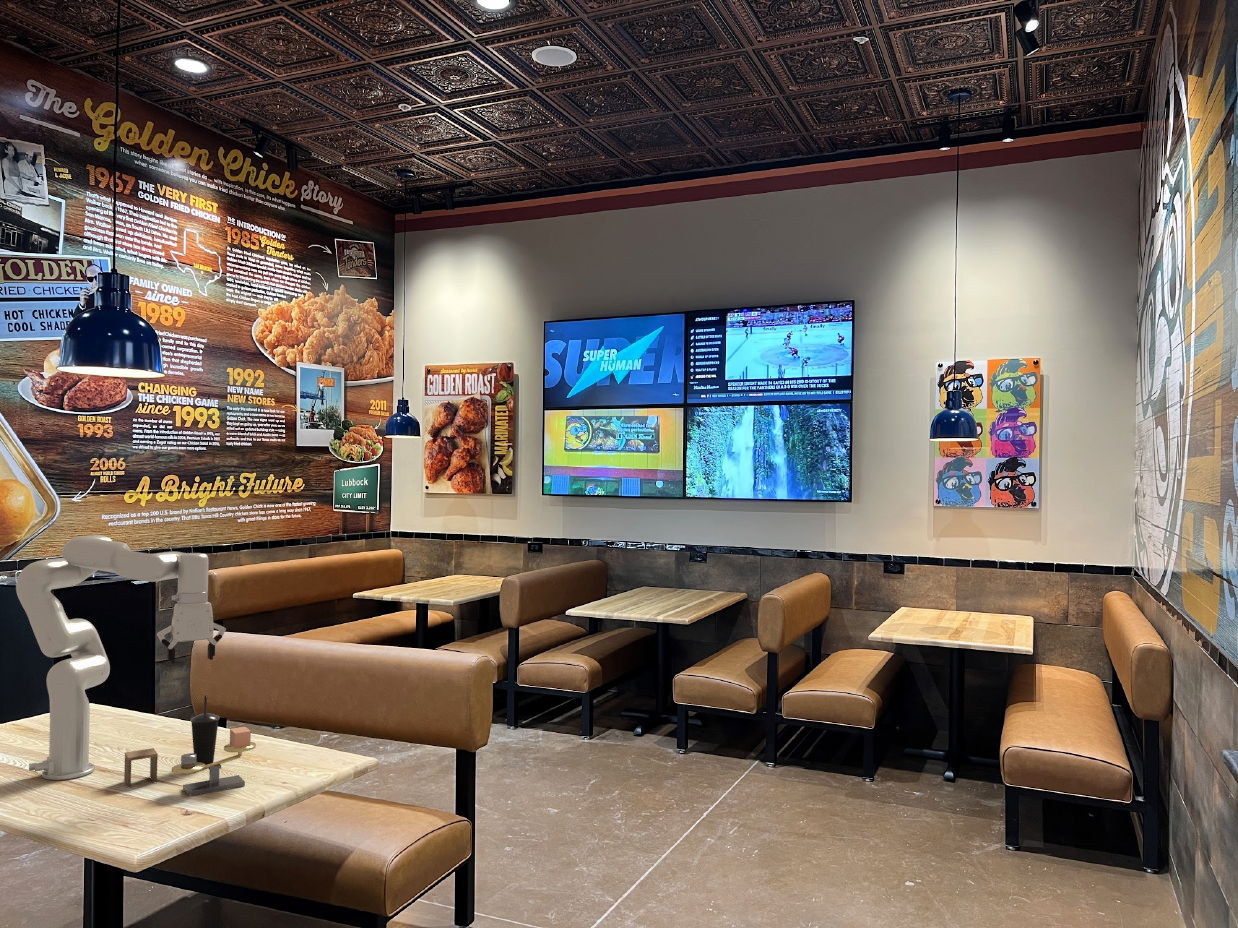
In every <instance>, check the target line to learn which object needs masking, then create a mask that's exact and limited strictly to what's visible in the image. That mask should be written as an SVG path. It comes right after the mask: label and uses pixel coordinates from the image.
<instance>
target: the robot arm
mask: <svg viewBox="0 0 1238 928" xmlns="http://www.w3.org/2000/svg"><path fill="white" fill-rule="evenodd" d="M209 563H210V561H209V557H208V555H207V554H206V553H204V552H203V553H201V552H190V553H189V552H187V553H186V552H181V551H164V552H157V553H147V552H139V551H134V550H131V548H130V546H129V544H127V543H125V542H121V541H115V540H113V539H111V538H110V537H109V536H106V535H103V534H93V535H81V536H79V535H78V536H75V537H73V538H71V539H69V540H67V542H66V543H65V544H64V546H63V548H62V557H58V558H48V559H41V560H37V561H35V562H31V563H29V564H28V565H27V566H25V567H24V568H23V569H22V570H21V571H20V573H19V574H18V576H17V579H16V585H15V591H16V595H17V598H18V600H19V602H20V604H21V606H22V608H23V609H24V611H25V614H26V616H27V618H28V621H29V623H30V626H31V628H32V631H33V634H34V636H35V639H36V641H37V644H38V646H39V648H40V651H41V652H42V653H43V655H45V656H46V657H47V658H60V657H64V656H67V655H70V656H71V658H67V659H64V660H61V661H59V662H57V663H55V664H53V666H51V668H49V670H48V672H47V675H46V689H47V693H48V697H49V698H48V699H49V741H48V742H49V743H48V746H49V747H48V751H49V752H48V756H47V757H46V759H45V760H42V762H41V761H40V762H31V763H29V764H28V772H32V771H34V772H40V771H42V772H41V777H42V778H43V779H46V780H53V781H61V780H69V779H75V778H77V779H78V778H81V777H83V776H84V777H85V776H87V775H89V774H91V773H93V772H94V771H95V770H96V765H95V764H94V763H92V762H90V761H89V760H90V759H89V757H90V755H89V754H90V723H91V722H90V714H91V711H90V710H91V709H90V707H91V705H90V701H89V698H88V697H87V694H86V691H85V690H88V689H90V688H93V687H96V686H99V685H101V684H102V683H104V682H106V680H107V679H108V677H109V675H110V671H111V665H110V660H109V658H108V655H107V654H106V651H105V648H104V645H103V643H102V641H101V638H100V635H99V633H98V630H97V629H96V627H95V626H94V625H93V624H92V622H90V621H88V620H87V619H84V618H72V619H69V617H68V616H67V615H66V612H65V610H64V607H63V604H62V603H61V601H60V600H59V599H58V598H57V597H56V596H55V595H54V594H53V593H52V592H51V591H52V590H57V589H63V588H67V587H73V586H76V585H78V584H80V583H82V582H84V581H85V580H86V579H88V578H90V577H91V576H92V575H93V574H95V573H96V572H97V571H102V572H107V573H108V572H109V573H113V574H115V575H117V576H119V577H122V578H124V579H130V580H135V581H142V582H152V583H154V582H161V581H166V580H173V579H177V592H176V594H174V595H171V601H175V602H177V603H175V604H174V607H173V610H172V616H171V618H172V619H171V625H169V626H168V627H166V628H164V629H162V630H160V631H158V632H157V633H156V636H157V637H158V639H159V641H160V643H161V644H163V645H164V646H165V647H166V648H167V661H169V663H170V664H171V665H172V664H173V665H174V664H175V663H176V649H175V648H174V647H175V646H177V644H178V643H179V642H181V643H182V642H183V643H184V642H195V641H208V642H209V643H208V644H207V659H208V660H210V661H212V660H213V659H214V657H215V656H216V645H217V643H219V641H220V640H222V638H223V636H224V634H225V632H226V630H227V628H226V627H224V626H222V625H221V624H218V623H215V622H214V615H213V606H212V603H211V602H209V598H208V597H209V596H208V595H209ZM214 629H216V630H218V632H217V634H216V635H215V636H214ZM169 633H170V637H171V639H170V640H169V641H168V640H167V638H166V637H165V636H166V635H167V634H169ZM213 636H214V637H213Z"/></svg>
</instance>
